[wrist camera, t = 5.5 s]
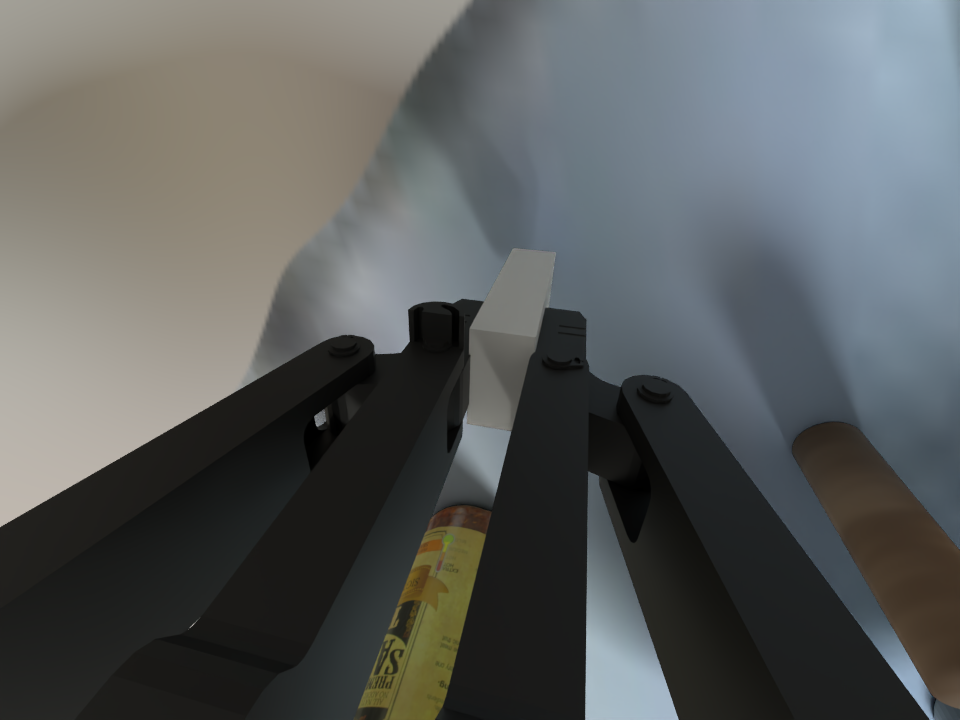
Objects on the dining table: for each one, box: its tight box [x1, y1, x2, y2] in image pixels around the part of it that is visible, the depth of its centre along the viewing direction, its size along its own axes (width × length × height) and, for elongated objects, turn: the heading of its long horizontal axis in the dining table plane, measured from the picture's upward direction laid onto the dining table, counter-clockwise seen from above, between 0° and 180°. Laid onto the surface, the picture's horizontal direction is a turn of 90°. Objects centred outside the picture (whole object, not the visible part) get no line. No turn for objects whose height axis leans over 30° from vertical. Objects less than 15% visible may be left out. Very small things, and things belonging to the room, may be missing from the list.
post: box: [792, 422, 960, 709], centre depth 15 cm, size 3×3×9 cm
